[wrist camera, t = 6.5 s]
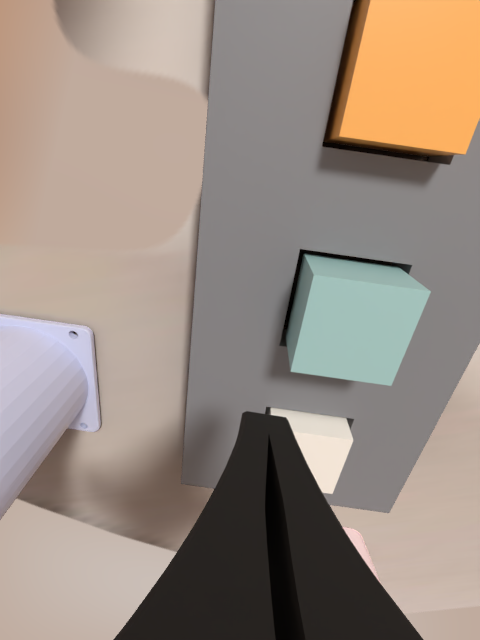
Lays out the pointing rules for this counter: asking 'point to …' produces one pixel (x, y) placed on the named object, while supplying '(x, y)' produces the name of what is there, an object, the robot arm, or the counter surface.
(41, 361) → the robot arm
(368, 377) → the teal button
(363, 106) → the orange button
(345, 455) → the white button
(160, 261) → the counter surface
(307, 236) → the button panel
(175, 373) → the counter surface
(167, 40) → the counter surface
